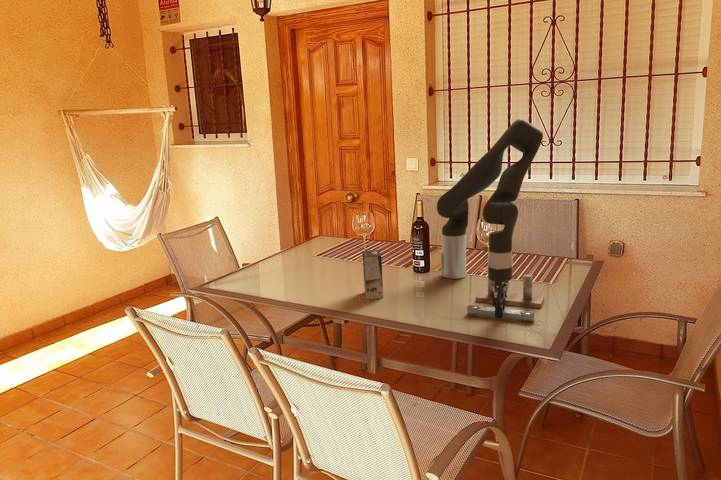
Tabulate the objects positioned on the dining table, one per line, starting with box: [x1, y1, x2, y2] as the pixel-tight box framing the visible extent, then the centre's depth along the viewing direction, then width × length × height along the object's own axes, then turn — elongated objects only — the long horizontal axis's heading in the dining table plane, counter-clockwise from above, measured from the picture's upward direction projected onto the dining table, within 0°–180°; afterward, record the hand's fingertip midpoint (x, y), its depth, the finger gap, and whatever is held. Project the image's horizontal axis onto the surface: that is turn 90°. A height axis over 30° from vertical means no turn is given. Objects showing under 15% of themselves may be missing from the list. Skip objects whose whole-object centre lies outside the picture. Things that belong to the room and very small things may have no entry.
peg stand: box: [475, 274, 545, 309], centre depth 202 cm, size 22×8×10 cm, turn 65°
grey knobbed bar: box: [466, 304, 535, 324], centre depth 189 cm, size 21×4×2 cm, turn 65°
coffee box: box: [362, 249, 384, 300], centre depth 214 cm, size 9×6×16 cm
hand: (499, 315), depth 189 cm, fingers closed on grey knobbed bar, 3 cm apart
